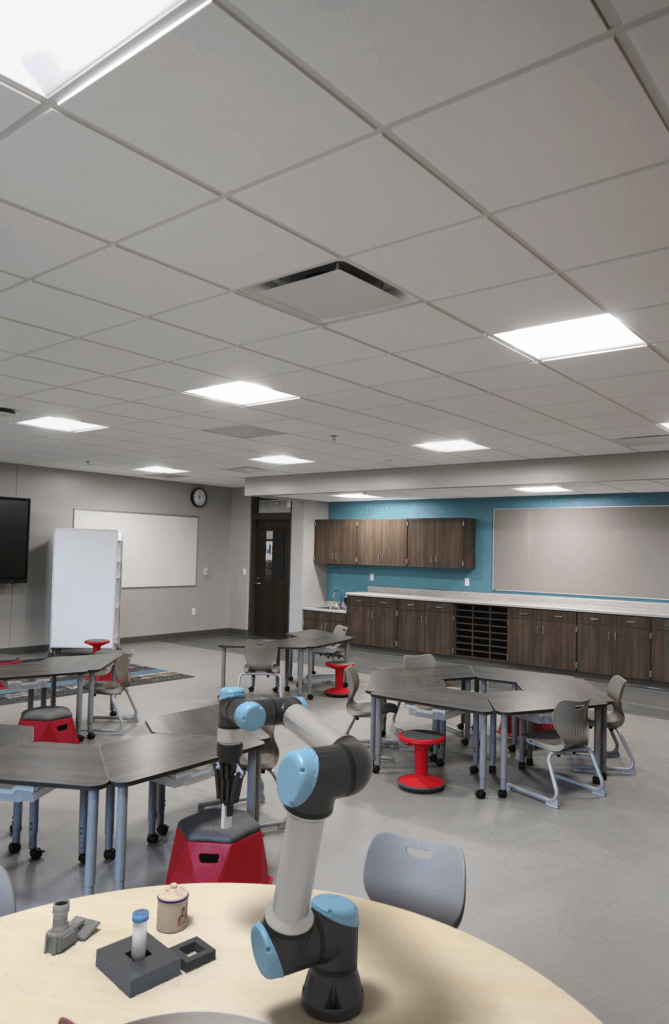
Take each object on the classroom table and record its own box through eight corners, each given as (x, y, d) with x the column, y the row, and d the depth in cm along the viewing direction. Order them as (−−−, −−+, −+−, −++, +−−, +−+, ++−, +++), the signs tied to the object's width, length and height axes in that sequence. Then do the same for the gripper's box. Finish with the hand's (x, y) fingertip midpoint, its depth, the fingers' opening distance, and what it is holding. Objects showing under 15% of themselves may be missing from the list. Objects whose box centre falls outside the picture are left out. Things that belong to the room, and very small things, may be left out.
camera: (39, 904, 176) (78, 882, 190) (35, 951, 174) (75, 925, 188) (65, 910, 173) (103, 887, 187) (61, 958, 171) (100, 931, 185)
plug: (149, 970, 167) (152, 913, 169) (134, 977, 164) (137, 918, 166) (140, 963, 170) (143, 907, 172) (126, 970, 167) (129, 912, 169)
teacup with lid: (183, 934, 184) (185, 891, 186) (151, 933, 184) (154, 890, 186) (192, 913, 196) (194, 872, 198) (162, 912, 196) (164, 871, 198)
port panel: (180, 974, 166) (181, 956, 166) (129, 998, 156) (130, 979, 156) (144, 945, 178) (145, 929, 179) (95, 965, 169) (96, 948, 169)
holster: (215, 959, 173) (215, 949, 173) (186, 973, 167) (186, 962, 167) (196, 945, 179) (196, 935, 179) (167, 958, 173) (168, 948, 173)
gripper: (254, 744, 186) (250, 830, 183) (227, 735, 195) (223, 817, 193) (233, 748, 181) (229, 837, 178) (206, 739, 190) (202, 824, 187)
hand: (226, 827), depth 185 cm, fingers closed
